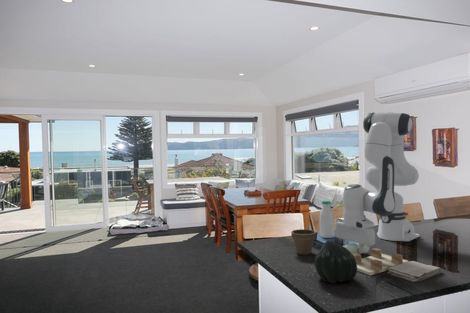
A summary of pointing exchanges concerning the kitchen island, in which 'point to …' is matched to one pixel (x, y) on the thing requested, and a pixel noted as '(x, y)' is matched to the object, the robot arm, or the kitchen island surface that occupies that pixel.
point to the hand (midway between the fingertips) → (354, 251)
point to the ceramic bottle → (355, 246)
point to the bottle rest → (377, 262)
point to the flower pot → (303, 240)
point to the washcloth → (414, 271)
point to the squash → (335, 263)
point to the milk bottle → (326, 220)
